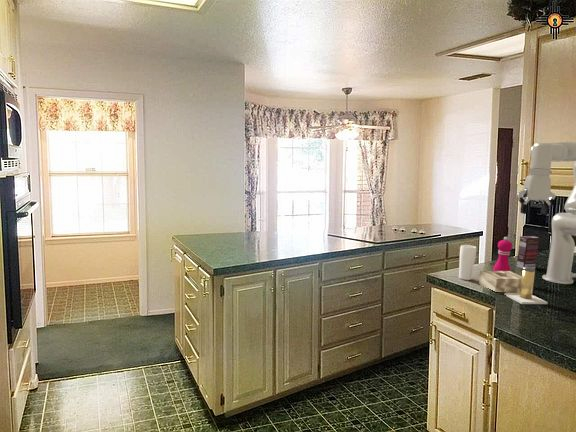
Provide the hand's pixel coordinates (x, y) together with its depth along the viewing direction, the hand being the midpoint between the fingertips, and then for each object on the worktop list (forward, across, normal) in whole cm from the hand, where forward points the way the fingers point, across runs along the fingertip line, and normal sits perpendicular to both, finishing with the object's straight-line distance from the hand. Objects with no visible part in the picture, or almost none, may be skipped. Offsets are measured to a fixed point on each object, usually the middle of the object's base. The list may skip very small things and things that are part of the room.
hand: (533, 213), depth 198 cm
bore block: (+32, +11, +1) cm, 34 cm away
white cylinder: (+32, +20, -13) cm, 40 cm away
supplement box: (+32, -27, -36) cm, 56 cm away
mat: (+32, +10, +15) cm, 37 cm away
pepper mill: (+32, +3, -12) cm, 35 cm away
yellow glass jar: (+32, +10, +15) cm, 36 cm away
